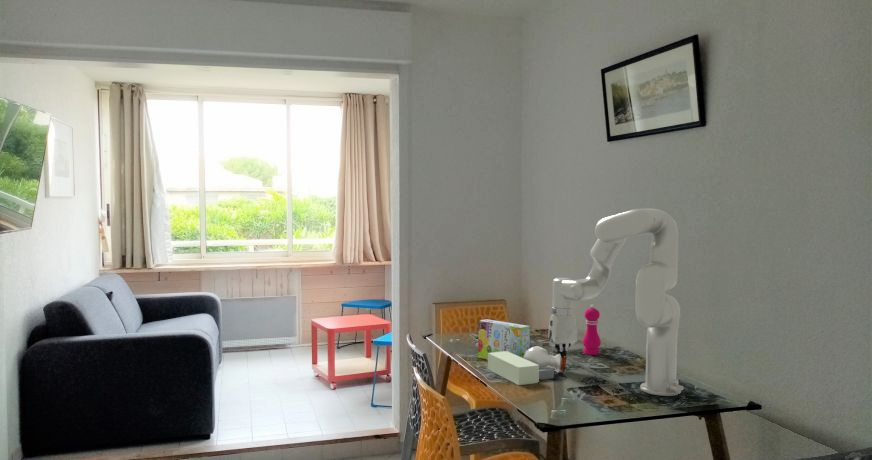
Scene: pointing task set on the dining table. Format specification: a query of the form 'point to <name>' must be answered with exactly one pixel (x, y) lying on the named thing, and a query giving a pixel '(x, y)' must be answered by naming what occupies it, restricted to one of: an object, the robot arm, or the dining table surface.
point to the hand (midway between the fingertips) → (561, 361)
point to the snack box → (502, 338)
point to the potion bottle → (545, 359)
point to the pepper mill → (591, 332)
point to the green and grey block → (517, 368)
